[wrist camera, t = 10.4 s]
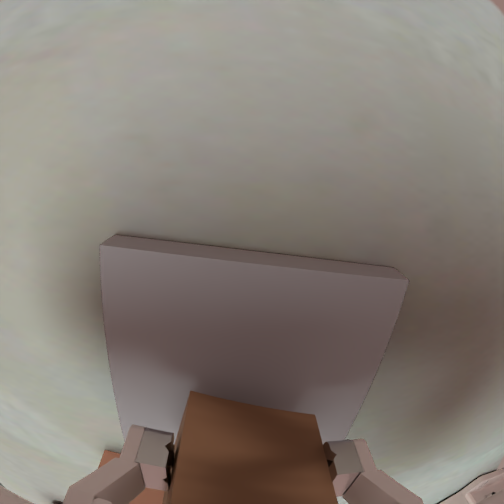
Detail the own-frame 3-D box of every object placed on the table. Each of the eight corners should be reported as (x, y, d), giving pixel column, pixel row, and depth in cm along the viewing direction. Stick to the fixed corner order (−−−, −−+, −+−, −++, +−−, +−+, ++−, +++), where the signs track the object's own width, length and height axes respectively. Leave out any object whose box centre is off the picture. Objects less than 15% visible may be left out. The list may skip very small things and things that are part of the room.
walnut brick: (315, 414, 11) (341, 519, 6) (271, 475, 12) (279, 559, 8) (190, 390, 10) (170, 507, 6) (170, 457, 12) (155, 546, 7)
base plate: (393, 267, 13) (409, 280, 11) (326, 445, 16) (331, 462, 15) (114, 234, 12) (99, 244, 10) (131, 429, 15) (126, 447, 14)
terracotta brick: (174, 463, 17) (164, 523, 12) (177, 493, 18) (170, 543, 13) (105, 448, 16) (85, 503, 12) (117, 480, 18) (103, 528, 13)
